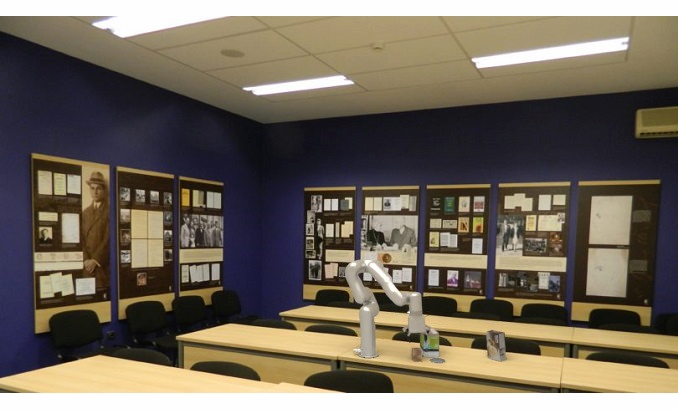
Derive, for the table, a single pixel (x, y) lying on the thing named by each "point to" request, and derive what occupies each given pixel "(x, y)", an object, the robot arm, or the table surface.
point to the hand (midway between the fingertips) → (417, 341)
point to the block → (416, 354)
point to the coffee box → (496, 345)
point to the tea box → (430, 344)
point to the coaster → (437, 360)
